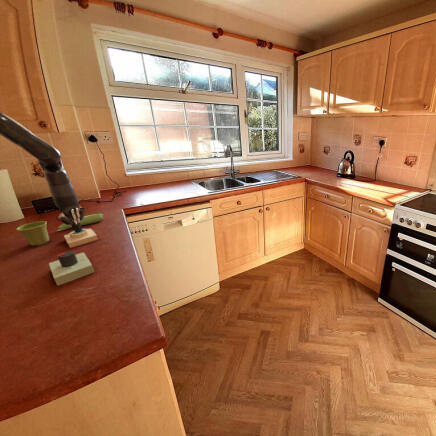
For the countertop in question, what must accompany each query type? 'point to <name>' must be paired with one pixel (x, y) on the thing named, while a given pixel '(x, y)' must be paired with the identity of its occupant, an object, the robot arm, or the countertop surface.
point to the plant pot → (35, 232)
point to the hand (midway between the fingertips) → (78, 231)
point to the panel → (71, 270)
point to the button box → (80, 237)
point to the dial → (67, 259)
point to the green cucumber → (85, 221)
